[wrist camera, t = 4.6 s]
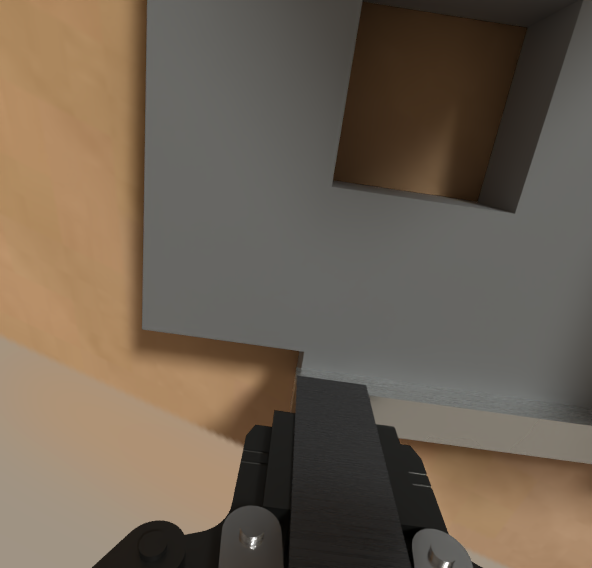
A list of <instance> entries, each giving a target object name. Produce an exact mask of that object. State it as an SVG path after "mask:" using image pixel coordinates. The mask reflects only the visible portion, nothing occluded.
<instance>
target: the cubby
mask: <svg viewBox="0 0 592 568" xmlns="http://www.w3.org/2000/svg"><path fill="white" fill-rule="evenodd" d="M362 2H368V3H374V4H381V5H387V6H394V7H400V8H406V9H413V10H419V11H425V12H432V13H438V14H445V15H451V16H457V17H464V18H470V19H476V20H483V21H489V22H495V23H502V24H508V25H515V26H521V27H527V31H526V35H525V38H524V42H523V45H522V49H521V52H520V56H519V59H518V63H517V66H516V70H515V73H514V77H513V80H512V84H511V87H510V91H509V94H508V98H507V101H506V105H505V108H504V112H503V115H502V118H501V122H500V125H499V129H498V132H497V136H496V139H495V143H494V146H493V150H492V153H491V157H490V160H489V164H488V167H487V171H486V174H485V178H484V181H483V185H482V188H481V192H480V195H479V199H478V202H477V201H470V200H463V199H456V198H449V197H443V196H436V195H429V194H422V193H416V192H409V191H402V190H395V189H388V188H382V187H375V186H368V185H361V184H354V183H348V182H341V181H334V180H333V176H334V170H335V164H336V158H337V152H338V146H339V140H340V134H341V128H342V122H343V116H344V110H345V103H346V97H347V91H348V85H349V79H350V73H351V67H352V61H353V55H354V49H355V43H356V37H357V31H358V25H359V19H360V13H361V7H362ZM142 329H144V330H151V331H158V332H165V333H173V334H180V335H187V336H194V337H201V338H209V339H216V340H223V341H230V342H238V343H245V344H252V345H259V346H267V347H274V348H281V349H288V350H295V351H299V357H298V363H297V367H298V368H305V369H313V370H320V371H327V372H334V373H342V374H349V375H356V376H363V377H371V378H378V379H385V380H392V381H400V382H407V383H414V384H421V385H429V386H436V387H443V388H451V389H458V390H465V391H472V392H480V393H487V394H494V395H501V396H509V397H516V398H523V399H530V400H538V401H545V402H552V403H559V404H567V405H574V406H581V407H589V408H592V0H147V45H146V110H145V174H144V238H143V303H142Z"/></svg>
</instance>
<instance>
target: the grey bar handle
mask: <svg viewBox="0 0 592 568" xmlns="http://www.w3.org/2000/svg"><path fill="white" fill-rule="evenodd" d="M290 412H292V413H295V428H294V450H293V472H292V494H291V511H290V517H289V522H288V528H287V534H286V539H285V545H284V550H283V564H284V568H411V564H410V560H409V556H408V552H407V548H406V544H405V540H404V536H403V532H402V528H401V524H400V520H399V516H398V512H397V508H396V504H395V500H394V496H393V492H392V487H391V483H390V479H389V475H388V471H387V467H386V463H385V459H384V455H383V451H382V447H381V443H380V439H379V435H378V431H377V427H376V424H379V425H387V426H394V427H395V429H396V432H397V436H398V438H402V439H409V440H417V441H424V442H432V443H439V444H447V445H454V446H461V447H469V448H476V449H484V450H491V451H498V452H506V453H513V454H521V455H528V456H536V457H543V458H550V459H558V460H565V461H573V462H580V463H588V464H592V408H589V407H581V406H574V405H567V404H559V403H552V402H545V401H538V400H530V399H523V398H516V397H509V396H501V395H494V394H487V393H480V392H472V391H465V390H458V389H451V388H443V387H436V386H429V385H421V384H414V383H407V382H400V381H392V380H385V379H378V378H371V377H363V376H356V375H349V374H342V373H334V372H327V371H320V370H313V369H305V368H298V367H296V373H295V379H294V385H293V392H292V398H291V405H290Z"/></svg>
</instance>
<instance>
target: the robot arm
mask: <svg viewBox="0 0 592 568" xmlns="http://www.w3.org/2000/svg"><path fill="white" fill-rule="evenodd" d="M376 427H377V431H378V435H379V439H380V443H381V447H382V451H383V455H384V459H385V463H386V467H387V471H388V475H389V479H390V483H391V487H392V492H393V496H394V500H395V504H396V508H397V512H398V516H399V520H400V524H401V528H402V532H403V536H404V540H405V544H406V548H407V552H408V556H409V560H410V564H411V568H482V567H480V566H478V565H476V564H475V563H473V562H472V561H471V559H470V557H469V555H468V553H467V551H466V550H465V548H464V547H463V546H462V545H461V544H460V543H459V542H458V541H457V540H456V539H454V538H453V537H452V536H450V535H449V534H448V531H447V528H446V526H445V523H444V520H443V517H442V515H441V512H440V509H439V506H438V504H437V501H436V498H435V495H434V493H433V490H432V488H431V484H430V482H429V479H428V476H426V471H425V468H424V465H423V463H422V460H421V458H420V457H419V456H418V455H417V453H416V452H415V451H414V450H413V449H412V447H411V446H409V445H401V444H400V442H399V439H398V436H397V432H396V429H395V427H394V426H387V425H379V424H376ZM294 428H295V413H292V412H284V411H277V410H274V416H273V423H272V427H268V426H261V425H255V426H254V427H253V428H252V429H251V431H250V432H249V433H248V434H247V435H246V439H245V444H244V449H243V454H242V459H241V464H240V468H239V473H238V478H237V482H236V487H235V492H234V497H233V502H232V506H231V509H230V511H229V514H228V515H227V516H226V518H225V519H224V520H223V521H222V522H221V523H219V524H218V525H217V526H215V527H213V528H211V529H209V530H206V531H202V532H198V533H192V534H187V535H184V534H183V532H182V530H181V529H179V527H178V526H176V525H175V524H173V523H170V522H167V521H152V522H148V523H145V524H142V525H140V526H139V527H137V528H135V529H134V530H133V531H131V532H130V533H129V534H128V535H127V536H126V537H125V538H124V539H123V540H121V541H120V542H119V543H118V544H117V545H116V546H115V547H114V548H113V549H112V550H111V551H110V552H108V553H107V554H106V555H105V556H104V557H103V558H102V559H101V560H100V561H99V562H97V564H95V565H94V566H93V567H92V568H284V564H283V550H284V545H285V539H286V534H287V528H288V522H289V517H290V511H291V494H292V472H293V450H294Z"/></svg>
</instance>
